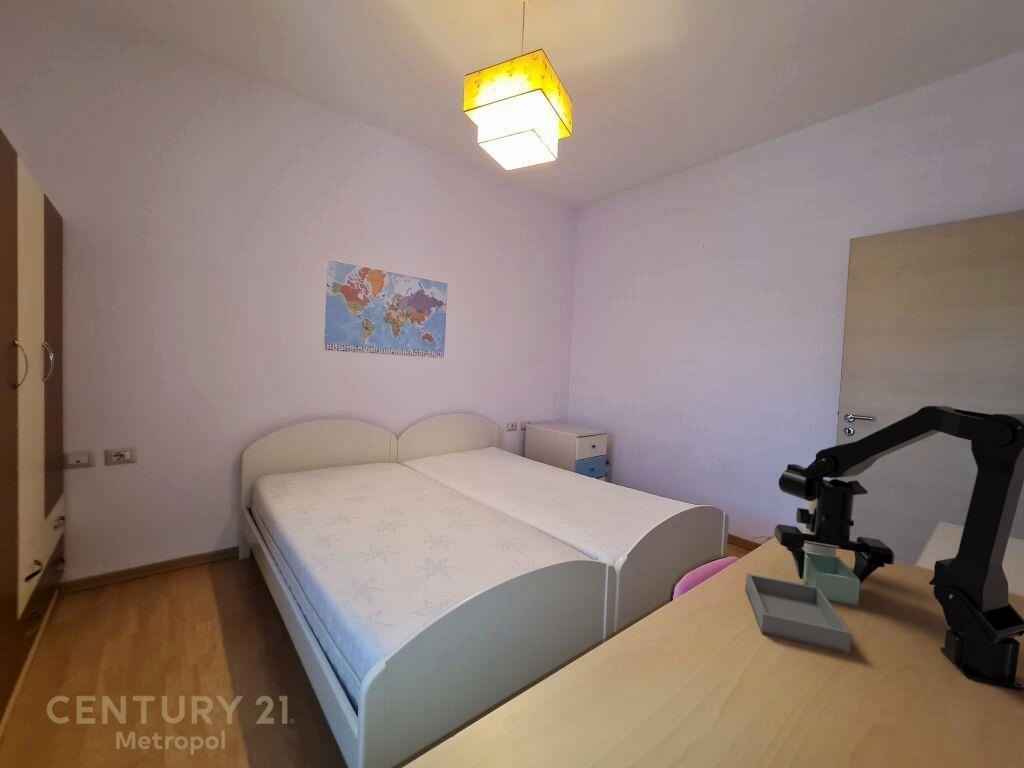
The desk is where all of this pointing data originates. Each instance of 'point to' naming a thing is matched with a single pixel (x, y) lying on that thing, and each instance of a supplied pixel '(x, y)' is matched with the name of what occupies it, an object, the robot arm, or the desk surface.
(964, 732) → the desk surface
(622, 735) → the desk surface
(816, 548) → the travel mug
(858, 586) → the small tote
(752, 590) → the tray
